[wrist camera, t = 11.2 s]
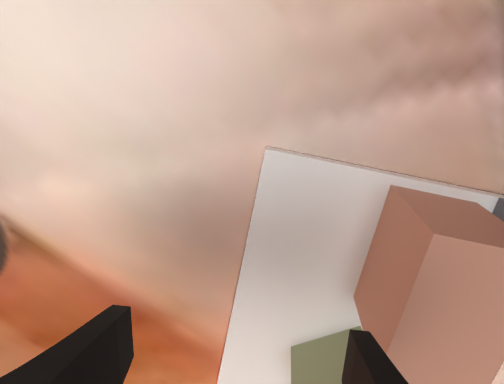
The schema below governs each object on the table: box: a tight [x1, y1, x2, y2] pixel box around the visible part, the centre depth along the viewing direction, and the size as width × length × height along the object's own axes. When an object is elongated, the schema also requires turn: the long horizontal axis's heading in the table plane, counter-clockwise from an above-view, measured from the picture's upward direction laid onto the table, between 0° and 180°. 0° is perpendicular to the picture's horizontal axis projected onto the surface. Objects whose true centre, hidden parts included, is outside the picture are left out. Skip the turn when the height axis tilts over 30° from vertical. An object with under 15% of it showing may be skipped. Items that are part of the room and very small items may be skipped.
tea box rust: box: [353, 185, 504, 384], centre depth 17 cm, size 5×7×6 cm
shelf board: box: [217, 146, 504, 384], centre depth 22 cm, size 13×22×2 cm, turn 169°
